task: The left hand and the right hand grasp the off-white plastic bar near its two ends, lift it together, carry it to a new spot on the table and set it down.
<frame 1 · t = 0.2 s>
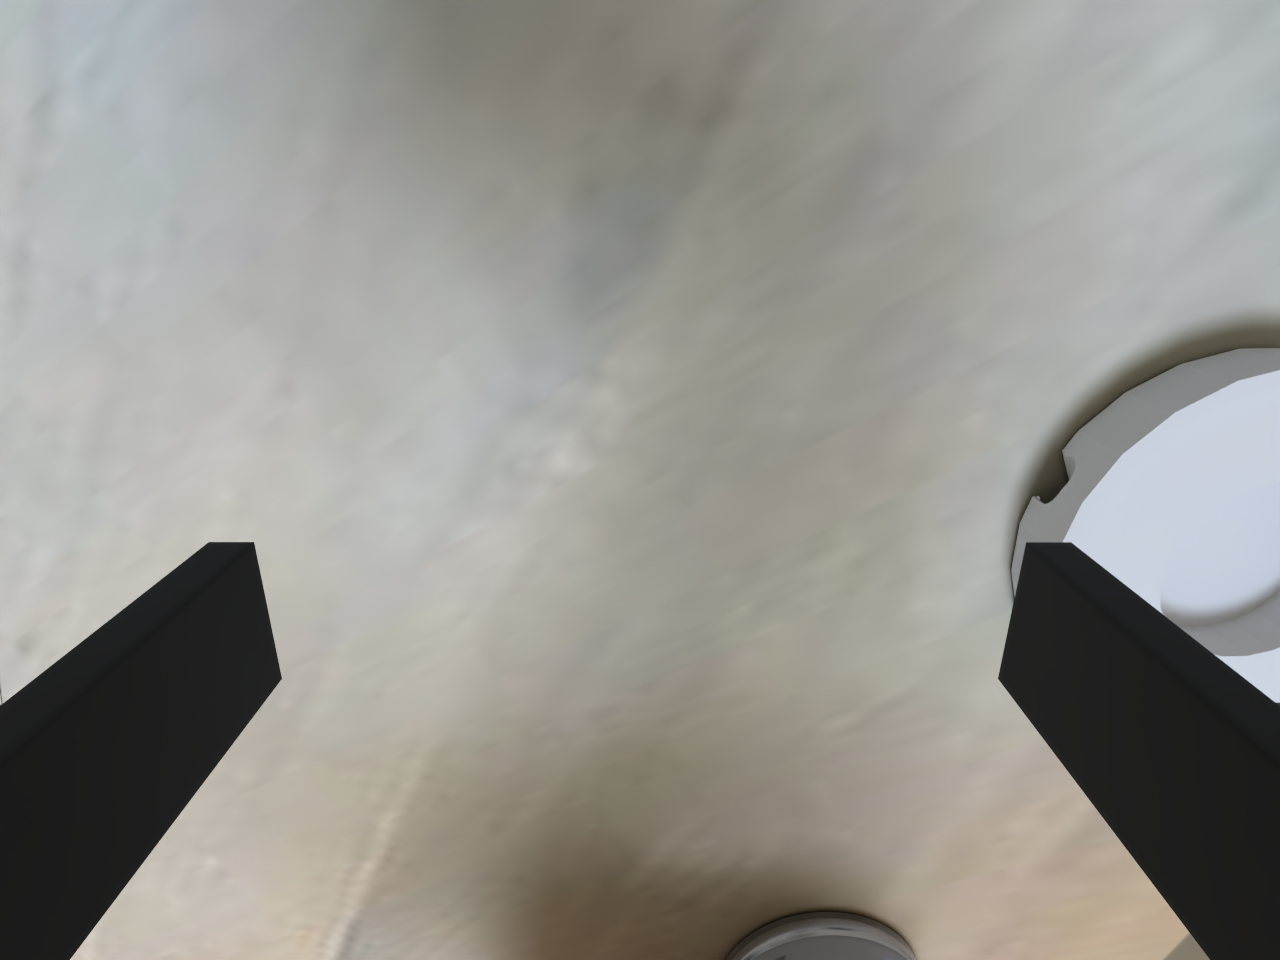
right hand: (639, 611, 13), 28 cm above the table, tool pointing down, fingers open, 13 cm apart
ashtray: (1209, 542, 43), on the table
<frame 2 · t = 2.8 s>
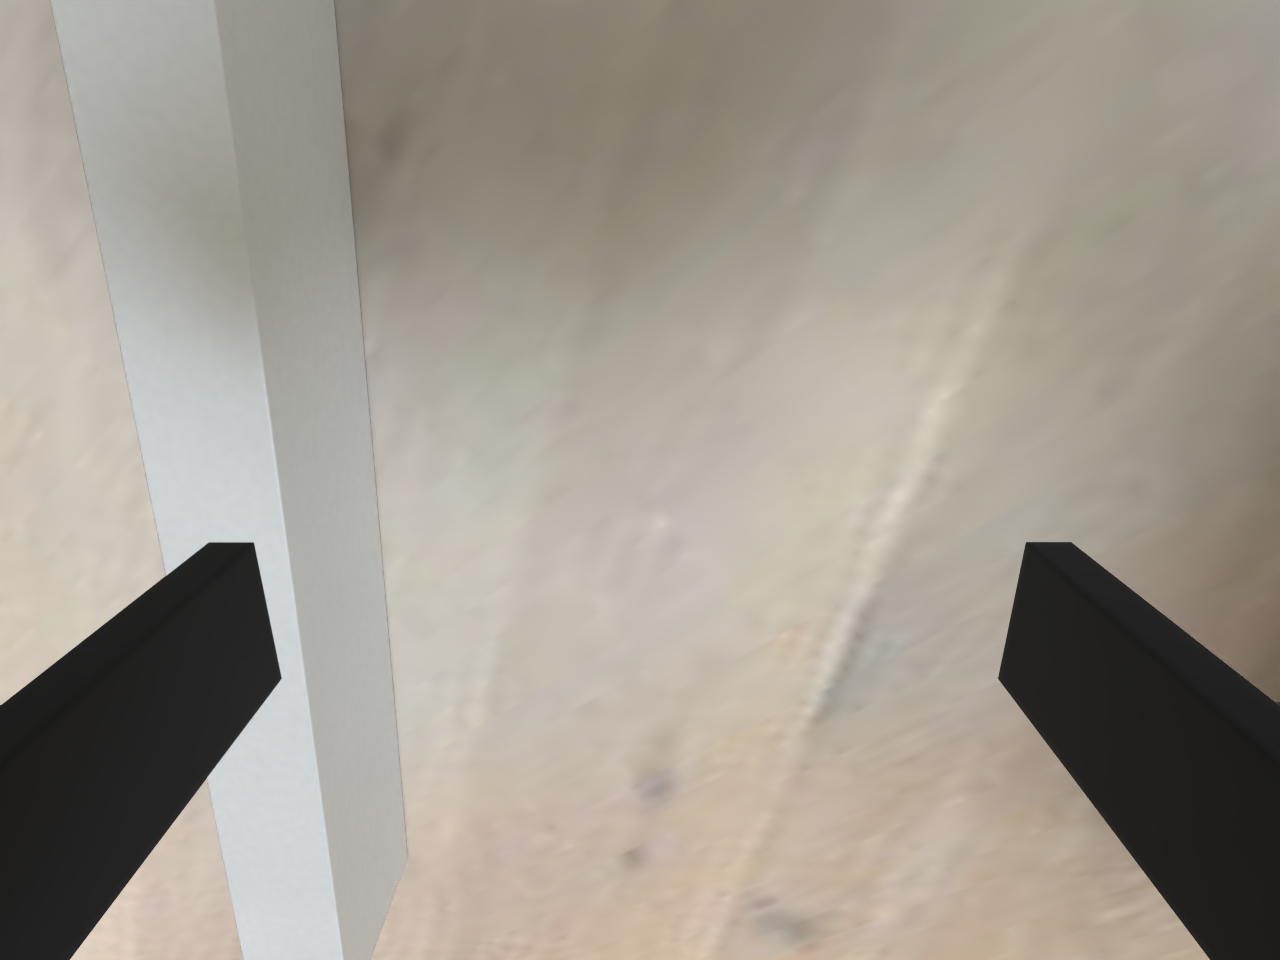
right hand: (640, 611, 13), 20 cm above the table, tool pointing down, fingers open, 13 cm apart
bar: (315, 366, 32), on the table, touching left hand
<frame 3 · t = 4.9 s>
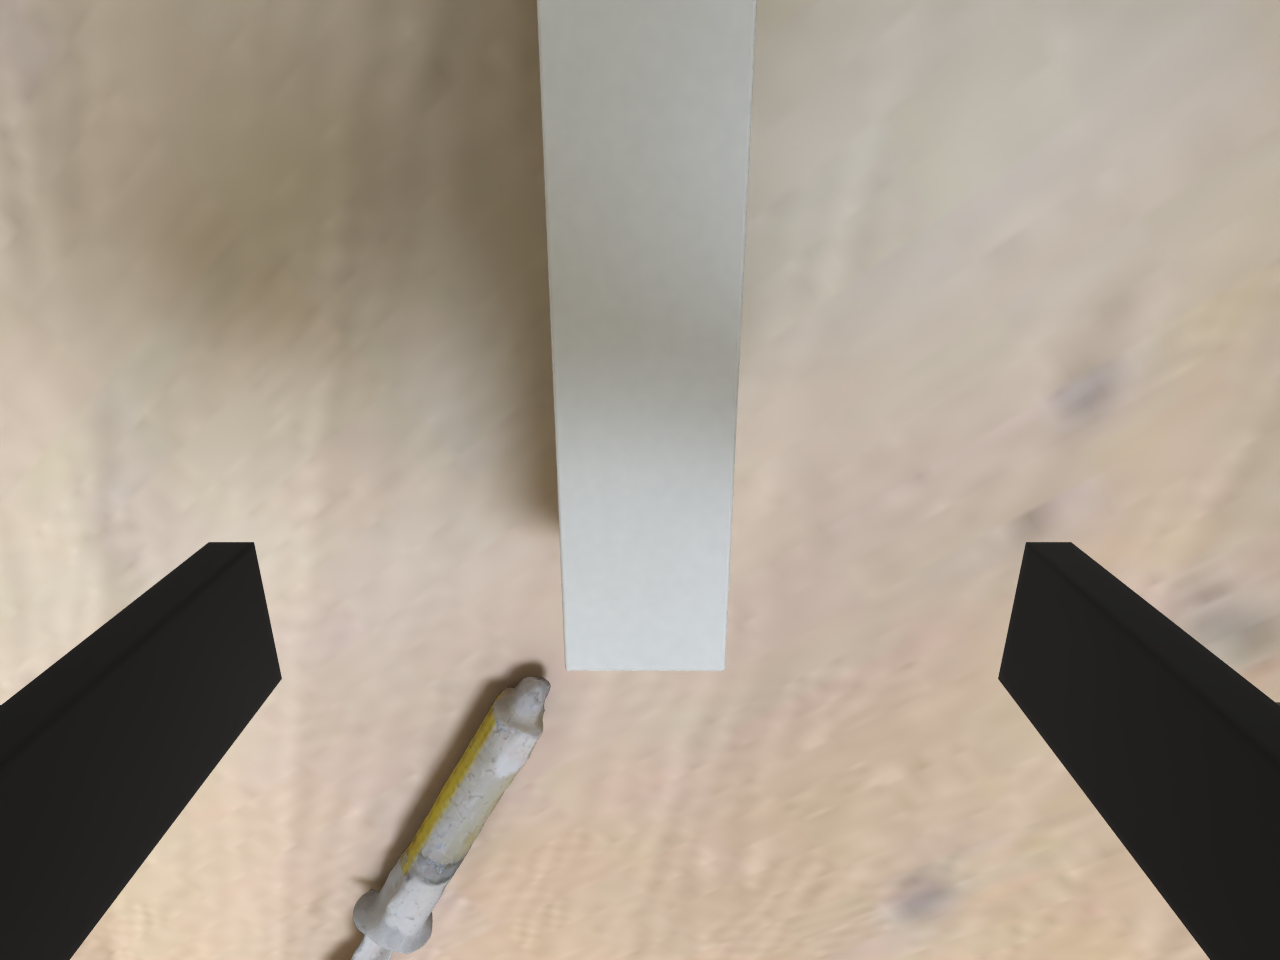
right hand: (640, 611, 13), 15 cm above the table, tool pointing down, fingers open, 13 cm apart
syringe: (424, 867, 35), on the table
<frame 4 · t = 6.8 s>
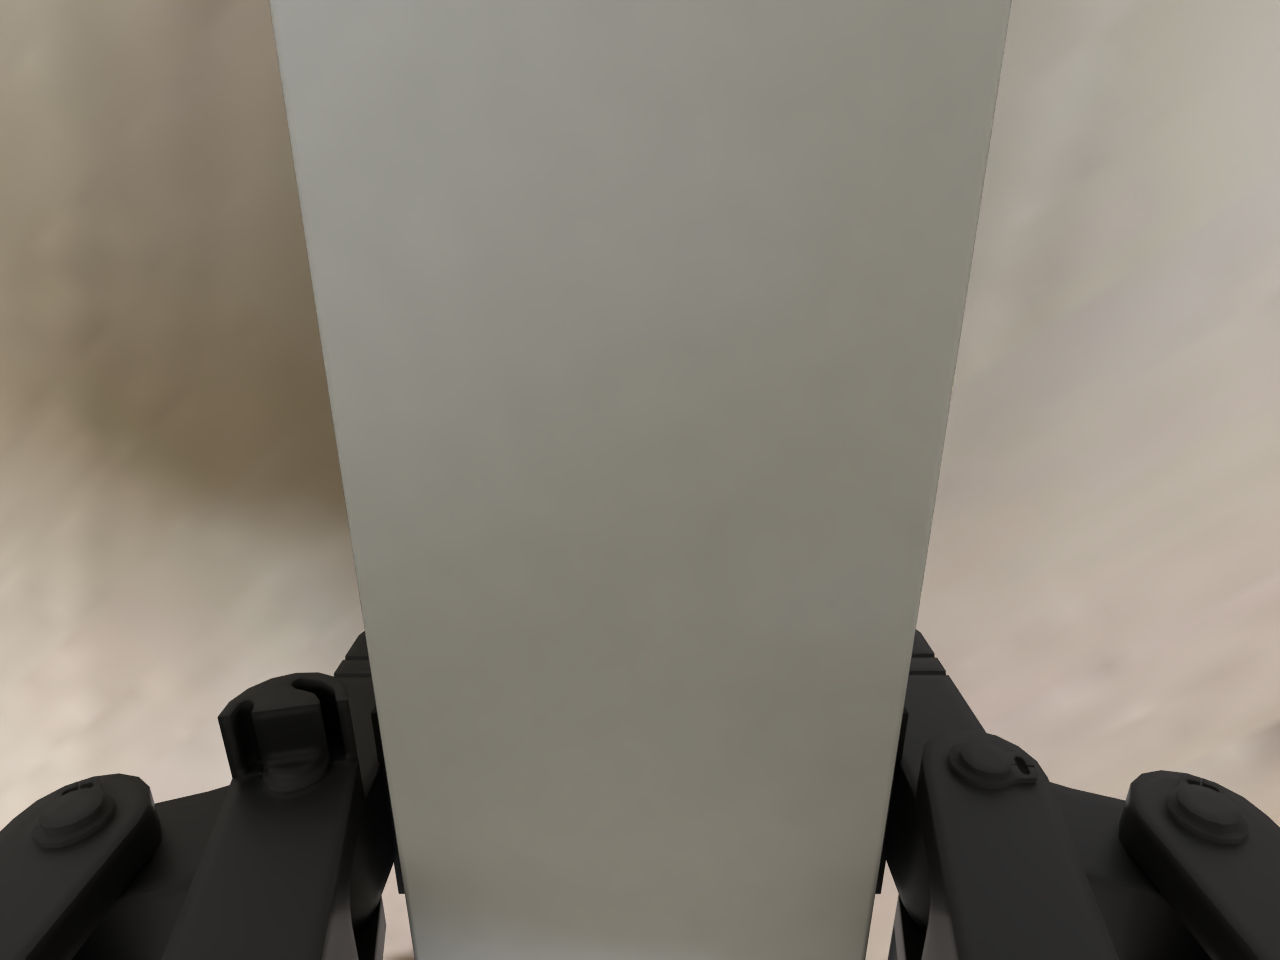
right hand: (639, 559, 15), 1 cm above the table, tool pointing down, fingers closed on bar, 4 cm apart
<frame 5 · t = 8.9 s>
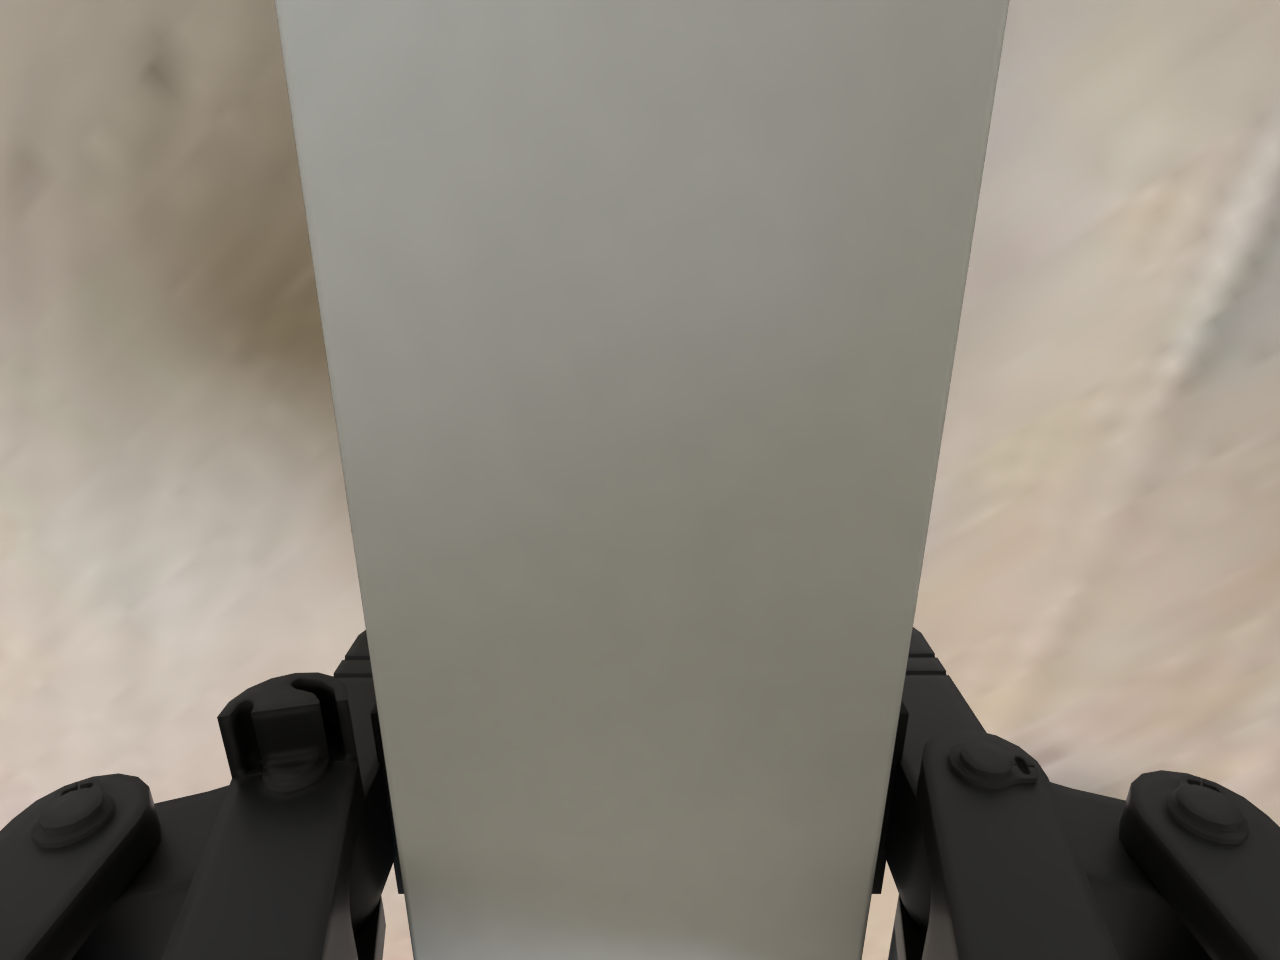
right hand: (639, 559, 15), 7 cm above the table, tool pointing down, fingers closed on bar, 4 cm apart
when the right hand's fingers open (2 cm above the table, at t = 10.7 s): bar drops 1 cm, on the table.
when the left hand's fingers open (5 cm above the table, at t = 10.9 s): bar stays where it is, on the table.
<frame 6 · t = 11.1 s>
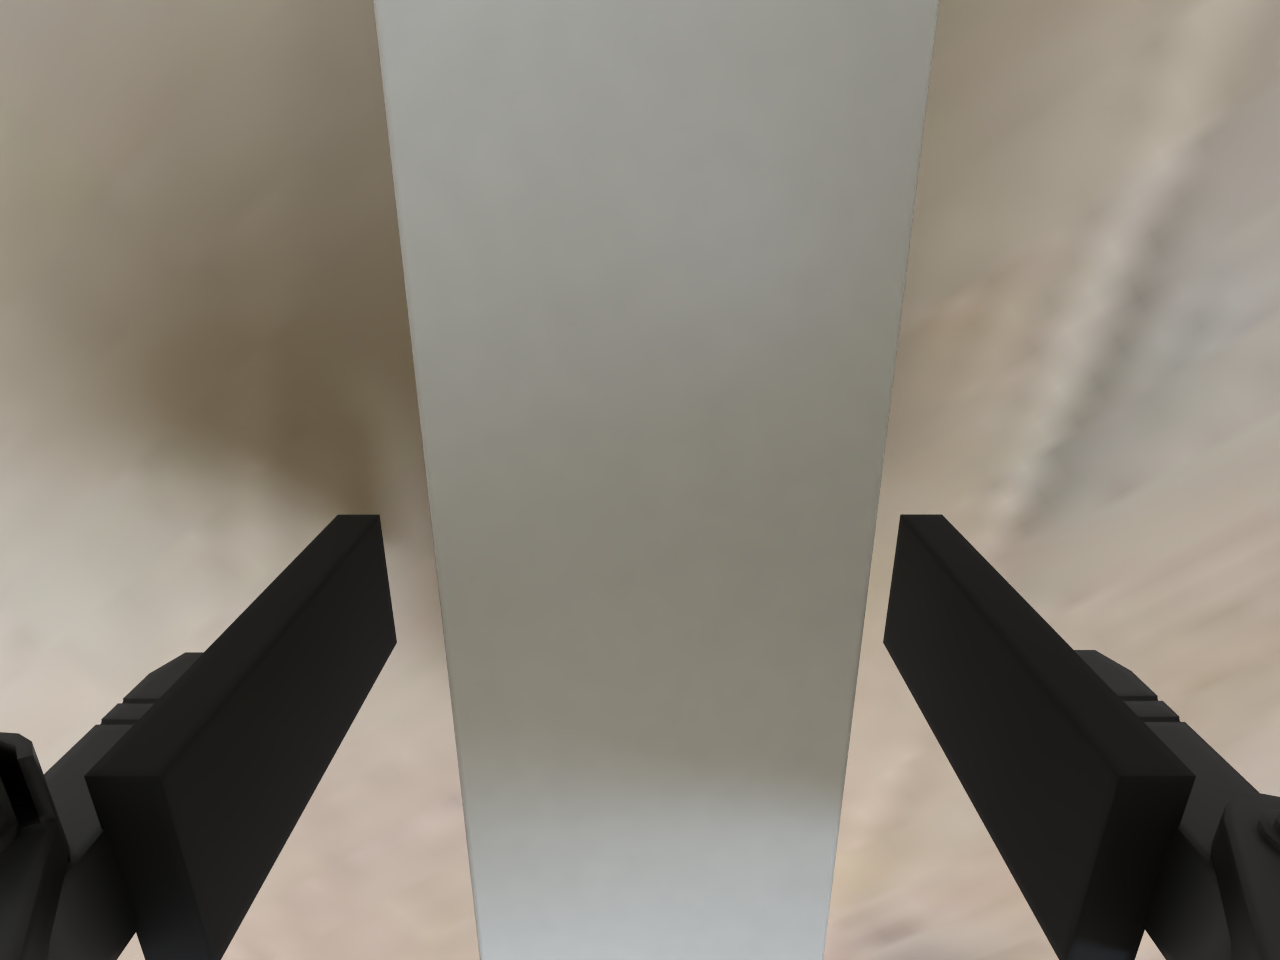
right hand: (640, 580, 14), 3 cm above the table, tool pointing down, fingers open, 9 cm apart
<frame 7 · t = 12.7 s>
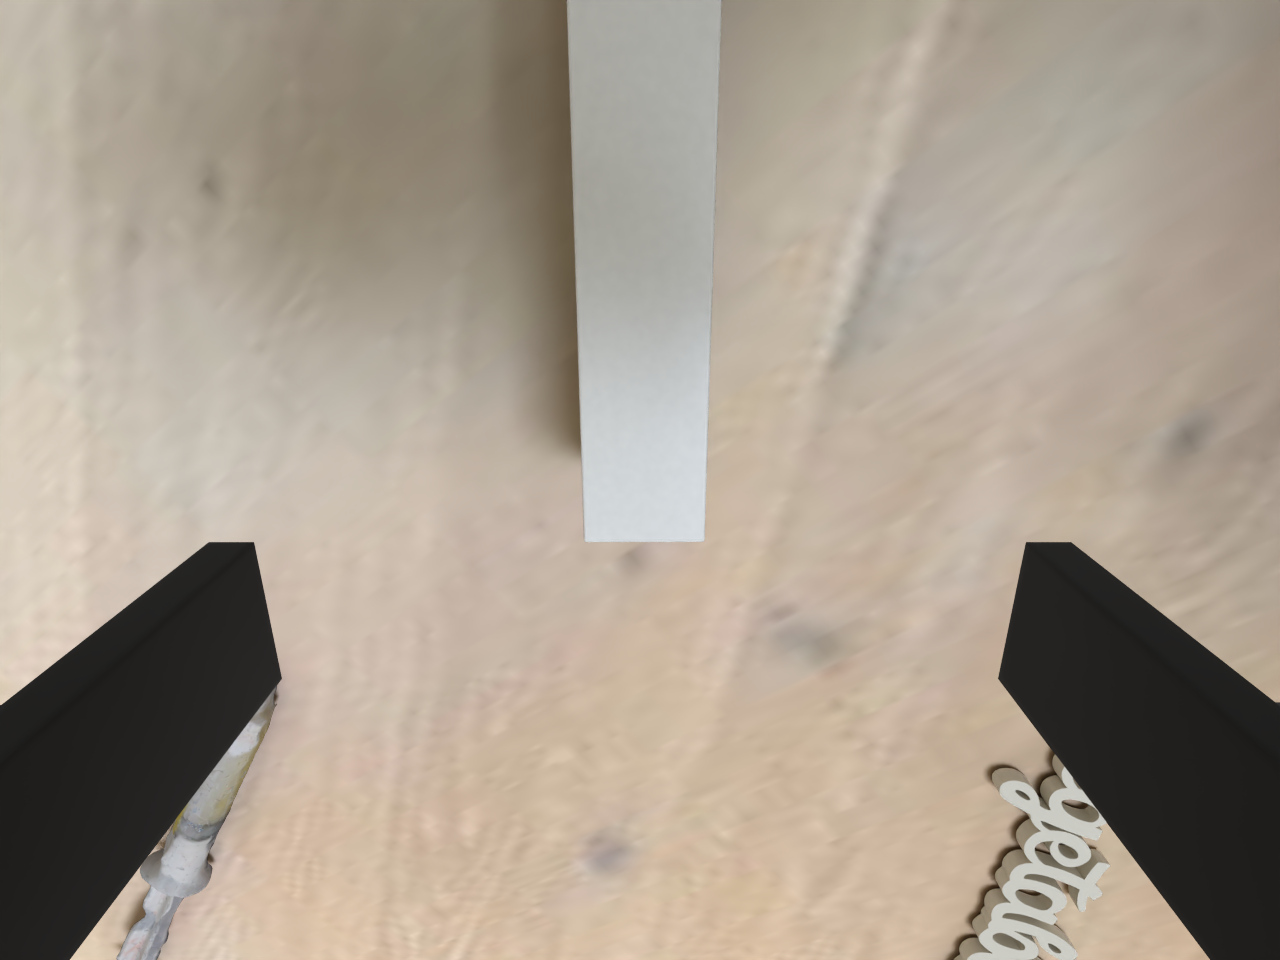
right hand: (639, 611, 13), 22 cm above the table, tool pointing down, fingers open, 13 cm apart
decorative sign: (1038, 853, 44), on the table
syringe: (204, 830, 43), on the table
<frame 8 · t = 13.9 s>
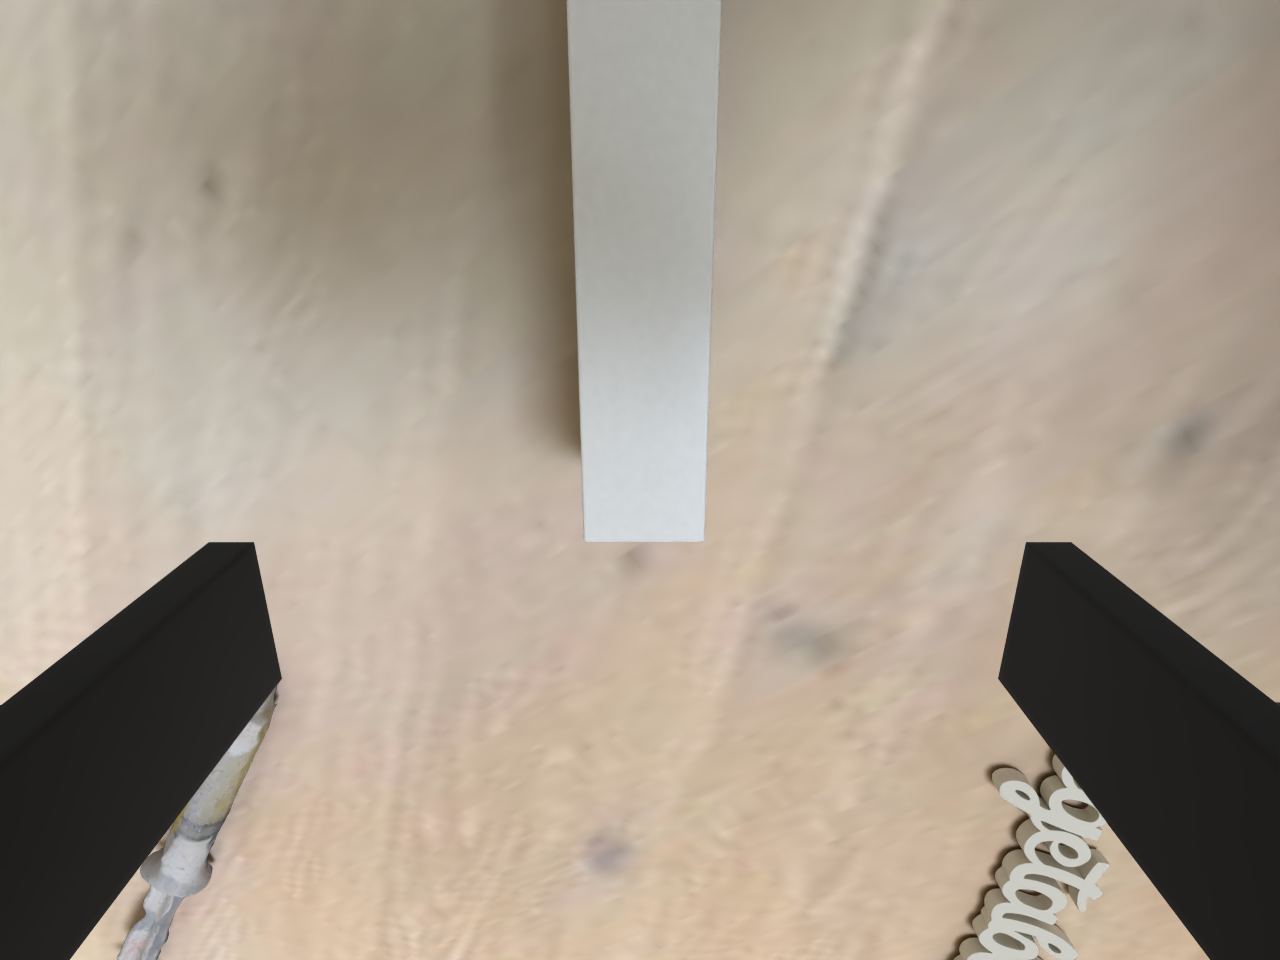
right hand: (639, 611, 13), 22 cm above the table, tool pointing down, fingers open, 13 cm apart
decorative sign: (1038, 853, 44), on the table
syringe: (204, 830, 43), on the table
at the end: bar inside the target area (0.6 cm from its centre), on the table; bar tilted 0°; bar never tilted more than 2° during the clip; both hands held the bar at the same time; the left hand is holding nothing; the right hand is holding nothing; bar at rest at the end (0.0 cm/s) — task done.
